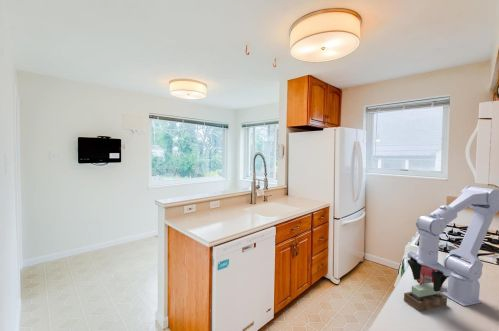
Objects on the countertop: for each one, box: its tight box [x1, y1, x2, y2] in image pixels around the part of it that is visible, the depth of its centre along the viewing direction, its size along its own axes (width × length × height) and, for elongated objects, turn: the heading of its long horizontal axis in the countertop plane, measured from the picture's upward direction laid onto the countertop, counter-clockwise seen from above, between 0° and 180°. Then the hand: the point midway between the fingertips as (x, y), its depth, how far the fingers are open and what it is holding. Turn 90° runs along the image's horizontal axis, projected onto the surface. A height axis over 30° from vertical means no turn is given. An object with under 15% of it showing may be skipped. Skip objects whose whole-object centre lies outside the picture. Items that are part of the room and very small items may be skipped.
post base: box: [403, 291, 448, 312], centre depth 87 cm, size 13×6×3 cm, turn 105°
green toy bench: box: [410, 283, 441, 301], centre depth 87 cm, size 10×3×6 cm, turn 105°
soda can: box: [417, 265, 437, 284], centre depth 101 cm, size 7×7×12 cm
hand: (426, 284), depth 87 cm, fingers open, 7 cm apart
